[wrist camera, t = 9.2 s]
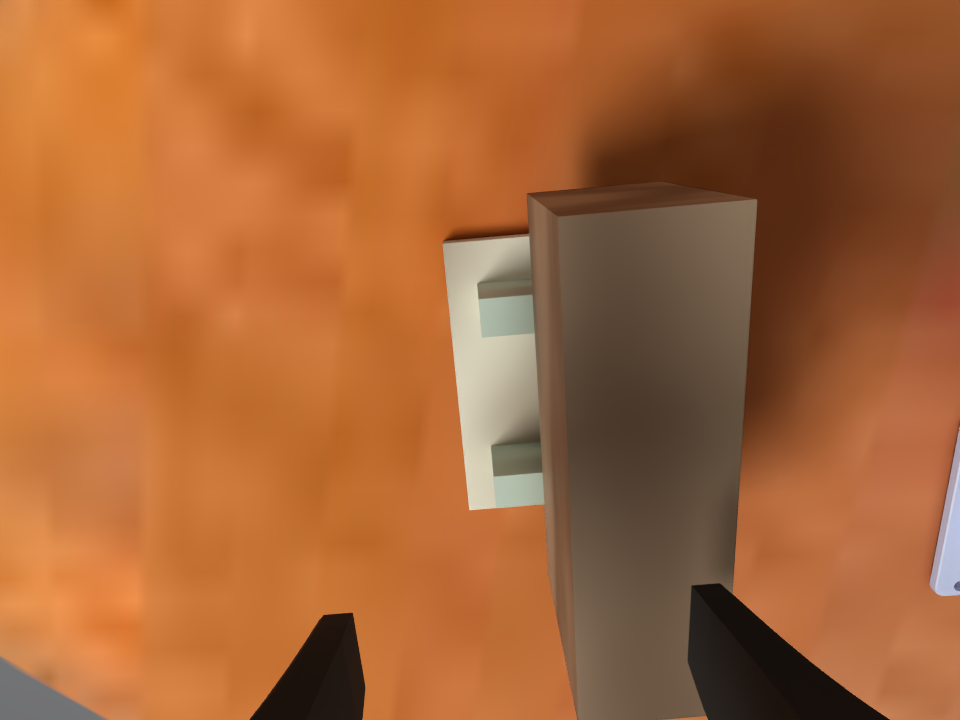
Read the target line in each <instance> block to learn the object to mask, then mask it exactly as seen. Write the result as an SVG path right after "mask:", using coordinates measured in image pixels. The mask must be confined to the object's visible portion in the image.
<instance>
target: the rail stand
mask: <svg viewBox="0 0 960 720" xmlns="http://www.w3.org/2000/svg"><path fill="white" fill-rule="evenodd" d="M443 253H444V263H445V273H446V283H447V293H448V302H449V312H450V322H451V332H452V342H453V352H454V362H455V372H456V382H457V392H458V402H459V411H460V421H461V431H462V441H463V451H464V461H465V471H466V481H467V491H468V501H469V510H477V509H488V508H504V507H516V506H528V505H539V504H544V490H543V472H542V454H541V437H540V419H539V401H538V384H537V366H536V348H535V330H534V313H533V295H532V277H531V260H530V242H529V234H519V235H507V236H496V237H484V238H472V239H461V240H449V241H443Z"/></svg>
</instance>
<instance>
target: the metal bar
mask: <svg viewBox="0 0 960 720" xmlns="http://www.w3.org/2000/svg"><path fill="white" fill-rule="evenodd" d="M527 207H528V224H529V242H530V260H531V277H532V295H533V313H534V330H535V348H536V366H537V384H538V401H539V419H540V437H541V454H542V472H543V490H544V507H545V525H546V543H547V561H548V576H549V581H550V586H551V591H552V596H553V601H554V606H555V611H556V616H557V621H558V626H559V631H560V636H561V641H562V646H563V651H564V656H565V661H566V666H567V671H568V676H569V681H570V686H571V691H572V696H573V701H574V706H575V710H576V715H577V720H664V719H675V718H687V717H698V716H706V713H705V711H704V709H703V706H702V703H701V700H700V697H699V694H698V692H697V689H696V686H695V683H694V680H693V677H692V674H691V670H690V667H689V664H688V661H687V660H688V641H689V622H690V603H691V585H704V584H716V583H720V584H722V585H723V586H724V587H725V588H726V589H727V590H728V591H729V592H731V593H732V594H733V579H734V563H735V547H736V531H737V515H738V499H739V483H740V468H741V452H742V436H743V420H744V404H745V388H746V372H747V356H748V340H749V325H750V309H751V293H752V277H753V261H754V245H755V229H756V213H757V199H754V198H748V197H743V196H737V195H732V194H727V193H721V192H716V191H710V190H705V189H699V188H694V187H689V186H683V185H678V184H672V183H667V182H650V183H638V184H627V185H616V186H604V187H593V188H582V189H570V190H559V191H548V192H536V193H527Z"/></svg>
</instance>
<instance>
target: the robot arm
mask: <svg viewBox="0 0 960 720" xmlns="http://www.w3.org/2000/svg"><path fill="white" fill-rule="evenodd" d="M955 583H956V584H955ZM930 587H931V588H932V589H933V590H934V591H935V592H936V593H937V594H939V595H940V596H952V595H960V428H959V433H958V438H957V443H956V448H955V454H954V459H953V464H952V469H951V474H950V480H949V485H948V490H947V495H946V500H945V506H944V511H943V516H942V521H941V526H940V532H939V537H938V542H937V547H936V552H935V558H934V563H933V568H932V573H931V578H930ZM687 661H688V664H689V667H690V670H691V674H692V677H693V680H694V683H695V686H696V689H697V692H698V694H699V697H700V700H701V703H702V706H703V709H704V711H705V713H706V716H707V718H708V720H890V719H888V718H887V717H885V716H884V715H882V714H881V713H879V712H878V711H876V710H875V709H873V708H872V707H870V706H869V705H867V704H866V703H864V702H863V701H862V700H860V699H859V698H857V697H856V696H855V695H853V694H852V693H850V692H849V691H848V690H846V689H845V688H844V687H842V686H841V685H840V684H838V683H837V682H836V681H835V680H833V679H832V678H831V677H829V676H828V675H827V674H825V673H824V672H823V671H821V670H820V669H819V668H818V667H816V666H815V665H814V664H813V663H811V662H810V661H809V660H808V659H806V658H805V657H804V656H803V655H802V654H800V653H799V652H798V651H797V650H796V649H794V648H793V647H792V646H791V645H790V644H788V643H787V642H786V641H785V640H784V639H782V638H781V637H780V636H779V635H778V634H777V633H776V632H774V631H773V630H772V629H771V628H770V627H769V626H768V625H766V624H765V623H764V622H763V621H762V620H761V619H760V618H759V617H757V616H756V615H755V614H754V613H753V612H752V611H751V610H750V609H748V608H747V607H746V606H745V605H744V604H743V603H742V602H741V601H740V600H738V599H737V598H736V597H735V596H734V595H733V594H732V593H731V592H729V591H728V590H727V589H726V588H725V587H724V586H723V585H722V584H720V583H716V584H704V585H691V603H690V622H689V641H688V660H687ZM364 697H365V682H364V676H363V670H362V664H361V659H360V653H359V647H358V641H357V635H356V629H355V623H354V618H353V613H343V614H331V615H324V616H323V617H322V618H321V619H320V620H319V621H318V623H317V625H316V626H315V628H314V629H313V631H312V632H311V634H310V635H309V637H308V639H307V640H306V642H305V643H304V645H303V646H302V648H301V649H300V651H299V652H298V654H297V655H296V657H295V658H294V660H293V661H292V663H291V664H290V666H289V667H288V668H287V670H286V671H285V673H284V674H283V675H282V677H281V678H280V680H279V681H278V682H277V684H276V685H275V687H274V688H273V689H272V691H271V692H270V694H269V695H268V696H267V698H266V699H265V700H264V702H263V703H262V704H261V706H260V707H259V708H258V709H257V711H256V712H255V713H254V715H253V716H252V717H251V718H250V720H362V718H363V707H364Z"/></svg>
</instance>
